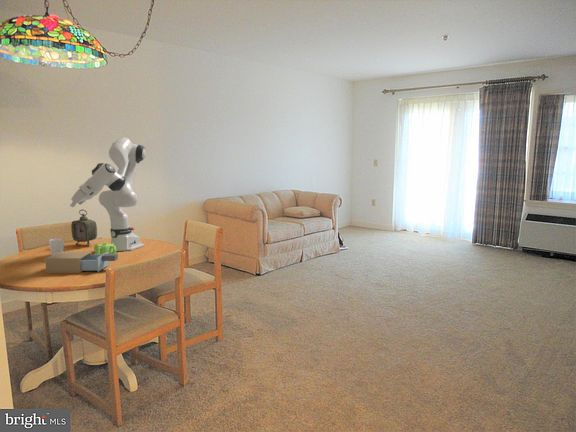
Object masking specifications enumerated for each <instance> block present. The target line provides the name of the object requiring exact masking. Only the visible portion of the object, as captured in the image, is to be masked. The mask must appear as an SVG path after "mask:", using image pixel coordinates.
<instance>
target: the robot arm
mask: <svg viewBox="0 0 576 432" xmlns="http://www.w3.org/2000/svg"><path fill="white" fill-rule="evenodd" d="M146 153H147V152H146V148H145V146H143V145H141V144H135V143H133V142H132V141H131V139H129V138H128V137H127V136H126V137H125V136H123V137H122V136H121V137H119V138H117V139H116V140H115V141H114V142H113V143H112V144H111V146H110V148H109V149H108V156H109V158H110V159H111V161H112V163H114V164H115V166H116V167H117V168H118V169H117V171H116V168H115V167H114V166H113V165H111V164H110V163H107V162H105V163H104V162H102V163H101V162H100V163H97V164H96V166H95V167H94V168H92V170H91V175H92V176H91V177H88V178H87V180H86V181H85V182H84V183H82V184H80V186H78V189H77V191H75V193H74V194H73V196H72V197H71V201H72V202H71V204H70V208H74V207H75V206H76V205H77V204H78V205H83V204H84V203H85V202H86V201H88V200H91V199H92V198H93V197H95V196H97V195H98V194H99V196H98V202H99V203H100V205H101V206H102V207H104V208H105V209H106V211H107V214H108V216H109V220H110V229H109V230H110V237H111V238H110V244H111V243H114V246H116V250H117V252H124V251H134V250H136V249H138V248H141V247H144V246H145V243H142V242H141V238H140V236H138V235H136V234H135V233H134V232H133V231H135V227H133V226H132V227H130V223H129V222H130V219H129V215H128V214H127V213H126V212H124V211H123V210H122V208H132V207H135V206H136V205H137V203H138V201H139V198H138V195H137V193H136V192H135V191H134V187H133V185H134V180H135V176H136V173H137V167H138V164H140V162H142V161H143V160H144V159H145V158H146V155H147V154H146ZM104 186H106V187H108V188H109V189H108V190H104V191H102V190H103V188H104Z"/></svg>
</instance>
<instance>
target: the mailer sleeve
mask: <svg viewBox="0 0 576 432" xmlns="http://www.w3.org/2000/svg"><path fill="white" fill-rule="evenodd" d="M87 255H92V251H64V252H58V253H56V254H54V255H51V254H50V255H49V256H48V257H45V259H44V262H45V271H46V272H45V273H46V274H71V273H72V274H76V273H77V274H78V273H79V274H80V273H82V272H84V271H81V263H80V259H81V258H83V257H85V256H87Z"/></svg>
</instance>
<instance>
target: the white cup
mask: <svg viewBox="0 0 576 432" xmlns="http://www.w3.org/2000/svg"><path fill="white" fill-rule="evenodd" d="M64 243H65V242H64V238H61V237H59V238H58V237H57V238H50V239H48V246H49V250H50V256H51V255H54V254H56V253H58V252H65V251H64V247H65V246H64Z"/></svg>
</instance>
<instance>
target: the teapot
mask: <svg viewBox="0 0 576 432" xmlns="http://www.w3.org/2000/svg"><path fill="white" fill-rule="evenodd" d="M93 251H94V255H103V254H104V253H106V252H108V253H109V254H117V252H118V251H117V250H116V246H114V243H111V242H110V243H108V242H102V243H101V244H97V243H96V244H94V249H93Z"/></svg>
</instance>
